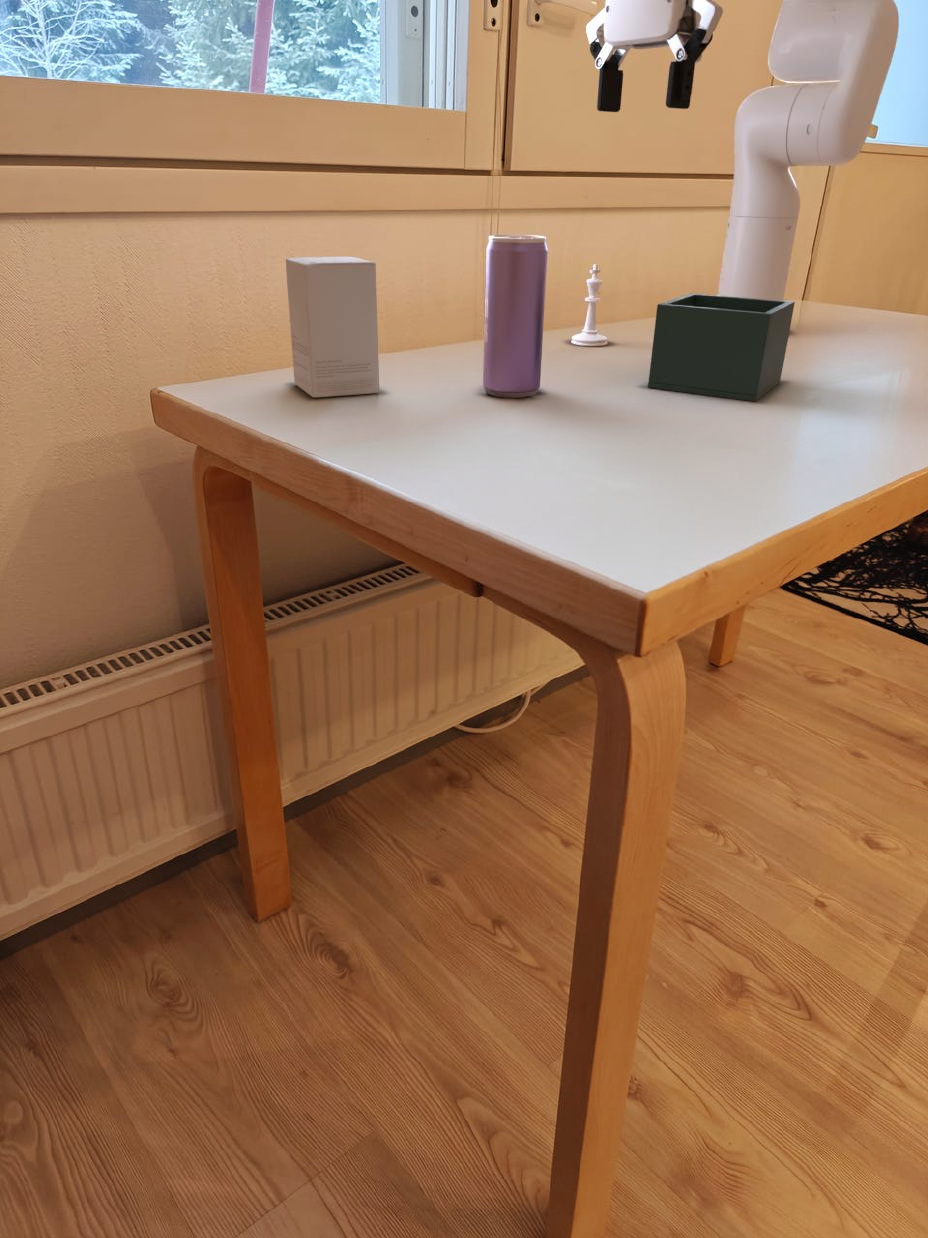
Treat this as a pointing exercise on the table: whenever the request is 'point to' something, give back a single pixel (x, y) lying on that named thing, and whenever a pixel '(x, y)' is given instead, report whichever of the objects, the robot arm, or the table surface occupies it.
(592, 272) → the chess piece
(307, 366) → the white packaging box
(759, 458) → the table surface
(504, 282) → the beverage can
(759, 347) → the bin
